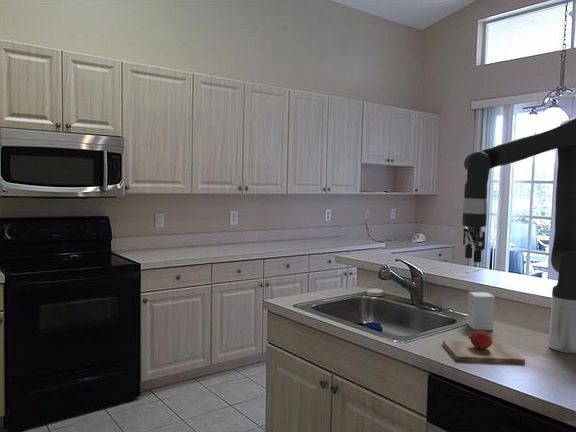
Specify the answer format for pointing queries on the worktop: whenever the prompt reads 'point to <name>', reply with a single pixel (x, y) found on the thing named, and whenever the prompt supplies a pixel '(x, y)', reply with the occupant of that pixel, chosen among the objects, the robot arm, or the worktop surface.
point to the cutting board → (482, 353)
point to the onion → (481, 339)
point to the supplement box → (481, 311)
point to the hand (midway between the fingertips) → (472, 260)
